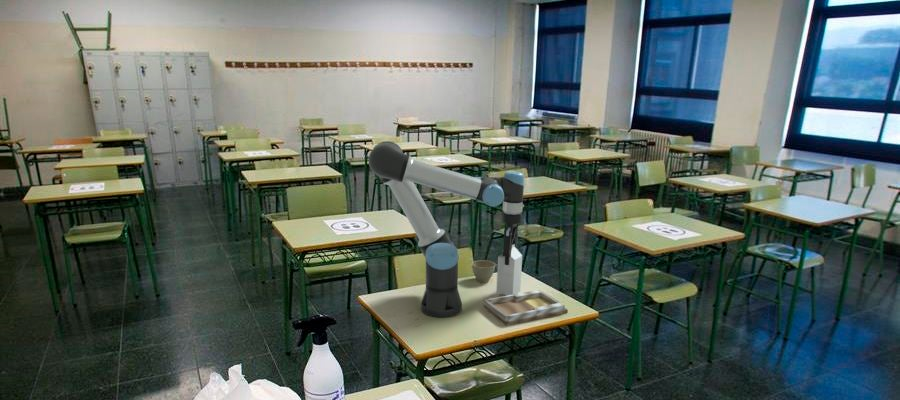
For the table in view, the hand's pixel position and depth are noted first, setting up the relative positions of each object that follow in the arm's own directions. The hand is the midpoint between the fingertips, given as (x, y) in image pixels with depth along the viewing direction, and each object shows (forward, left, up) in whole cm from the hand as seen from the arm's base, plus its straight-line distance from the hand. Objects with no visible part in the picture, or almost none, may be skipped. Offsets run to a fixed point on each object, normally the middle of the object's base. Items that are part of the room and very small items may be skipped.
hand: (509, 268), depth 202 cm
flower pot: (-14, +11, -11) cm, 21 cm away
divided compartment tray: (+9, -13, -11) cm, 19 cm away
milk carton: (0, 0, -10) cm, 10 cm away
